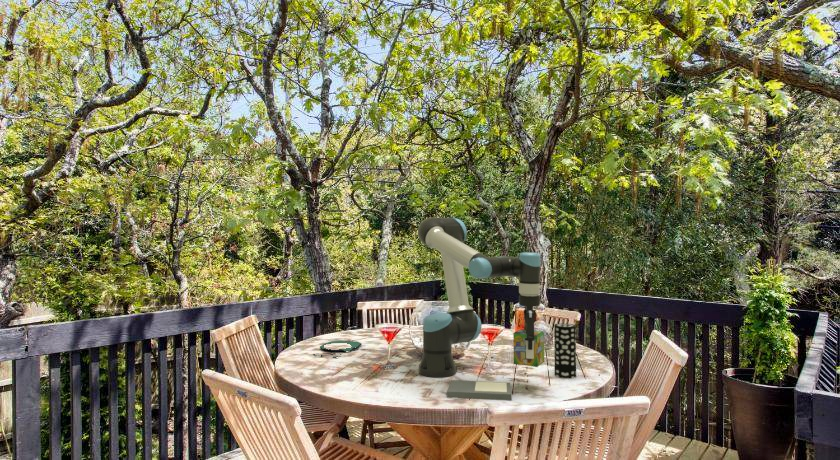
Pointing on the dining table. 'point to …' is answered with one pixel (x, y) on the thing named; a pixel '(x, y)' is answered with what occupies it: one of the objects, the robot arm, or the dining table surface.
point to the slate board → (480, 390)
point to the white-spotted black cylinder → (565, 350)
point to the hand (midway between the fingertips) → (528, 354)
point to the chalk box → (521, 348)
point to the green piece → (352, 343)
